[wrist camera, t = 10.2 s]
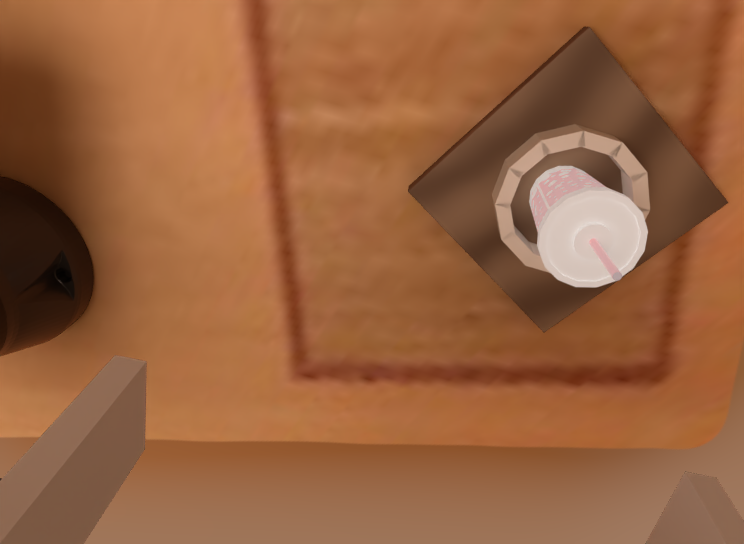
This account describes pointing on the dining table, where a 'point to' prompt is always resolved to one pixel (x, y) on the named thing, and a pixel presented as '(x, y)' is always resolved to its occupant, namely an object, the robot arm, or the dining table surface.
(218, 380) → the dining table surface
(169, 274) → the dining table surface
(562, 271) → the beverage cup
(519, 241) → the ring
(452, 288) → the dining table surface
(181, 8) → the dining table surface
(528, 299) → the holder
